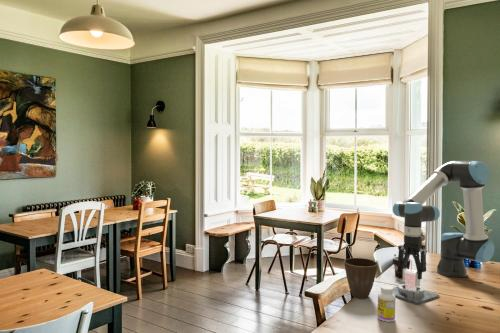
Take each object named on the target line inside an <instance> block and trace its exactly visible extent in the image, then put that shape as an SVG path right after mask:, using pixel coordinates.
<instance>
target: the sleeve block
mask: <svg viewBox="0 0 500 333" xmlns="http://www.w3.org/2000/svg"><path fill="white" fill-rule="evenodd" d="M393 294H394V295H395V297H396V298H397V299H399V300H402V301H406V302H408V303H411V304H414V305H417V306H418V305H421V304H424V303H427V302H430V301H432V300H436V299H439V298H440V294H439V293H438V294H437V293H435V292H431V291H427V290H425V289H424V288H423V287H422V286H421V285H420V286H417V287H416V290H414V291H413V290H407V289H406V284H405V283H401V284H398V286H394V287H393Z"/></svg>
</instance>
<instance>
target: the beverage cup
mask: <svg viewBox="0 0 500 333" xmlns="http://www.w3.org/2000/svg"><path fill="white" fill-rule="evenodd" d="M410 260H411V259H410ZM404 271H405V282H404V284H406V289H407V290H413V291H414V290H416V287H417V286H415V278H416V272H417V269H413V260H411V261H410V268H409V269H406V270H404Z"/></svg>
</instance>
